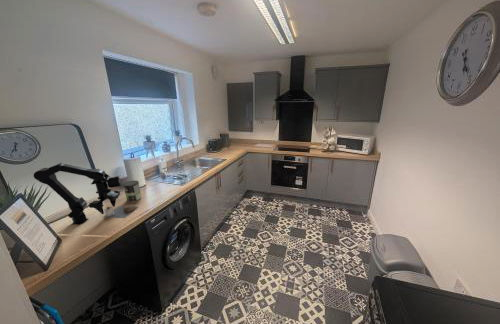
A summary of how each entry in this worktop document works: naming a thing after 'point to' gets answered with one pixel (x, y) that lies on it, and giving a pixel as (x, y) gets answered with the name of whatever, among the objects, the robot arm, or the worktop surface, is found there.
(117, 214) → the board
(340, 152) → the worktop surface
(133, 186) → the coffee can
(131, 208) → the base
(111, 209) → the cap
